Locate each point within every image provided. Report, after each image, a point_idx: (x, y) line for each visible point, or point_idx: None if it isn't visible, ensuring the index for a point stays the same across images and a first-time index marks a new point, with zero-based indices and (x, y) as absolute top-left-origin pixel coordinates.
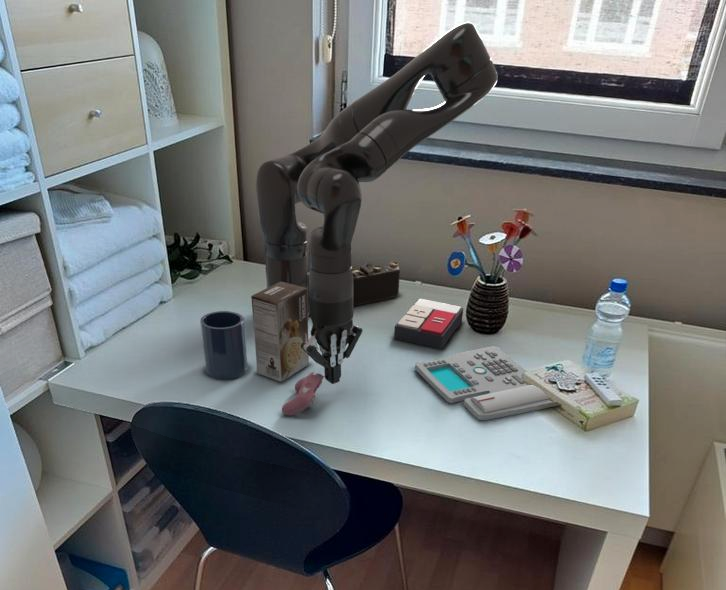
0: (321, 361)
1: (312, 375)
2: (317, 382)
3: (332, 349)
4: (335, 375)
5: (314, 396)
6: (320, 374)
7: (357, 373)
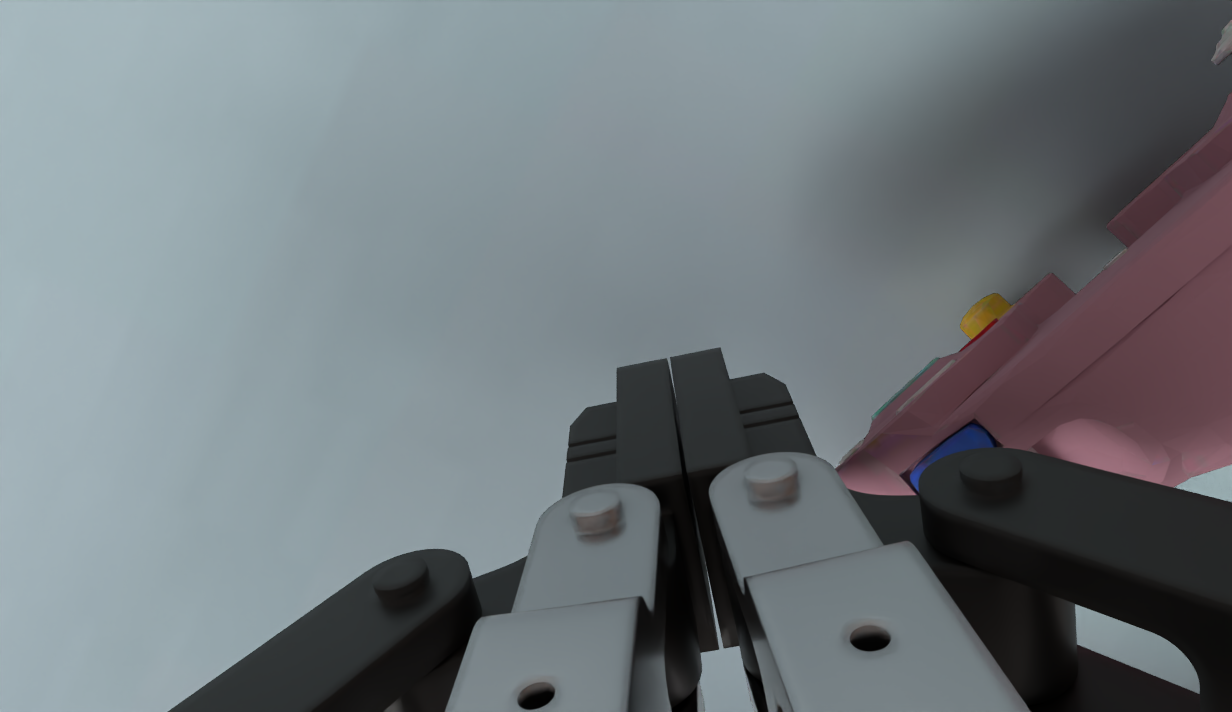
0: (1153, 509)
1: (1178, 418)
2: (1199, 219)
3: (940, 658)
4: (697, 395)
5: (984, 303)
6: None
7: (243, 586)
